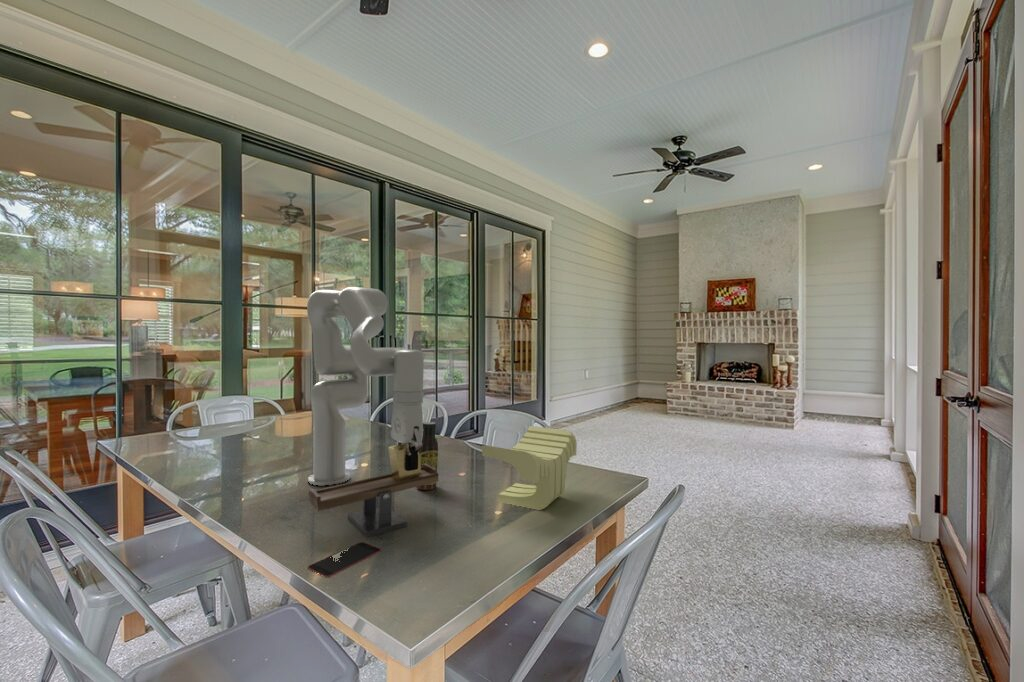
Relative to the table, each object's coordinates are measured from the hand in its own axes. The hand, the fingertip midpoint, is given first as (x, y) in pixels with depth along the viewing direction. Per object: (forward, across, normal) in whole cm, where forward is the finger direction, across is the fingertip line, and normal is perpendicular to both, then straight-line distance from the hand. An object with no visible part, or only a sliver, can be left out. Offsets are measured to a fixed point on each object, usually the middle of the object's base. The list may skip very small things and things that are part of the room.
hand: (406, 466), depth 120 cm
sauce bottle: (+13, -16, +14) cm, 25 cm away
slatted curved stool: (+13, +10, +34) cm, 38 cm away
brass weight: (+2, 0, 0) cm, 2 cm away
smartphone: (+13, +14, -20) cm, 28 cm away
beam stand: (+13, 0, -8) cm, 15 cm away
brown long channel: (+5, 0, -8) cm, 9 cm away
